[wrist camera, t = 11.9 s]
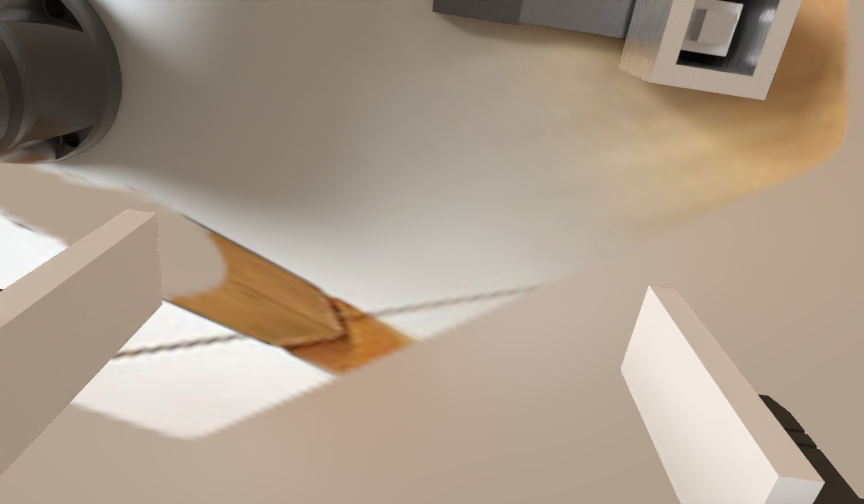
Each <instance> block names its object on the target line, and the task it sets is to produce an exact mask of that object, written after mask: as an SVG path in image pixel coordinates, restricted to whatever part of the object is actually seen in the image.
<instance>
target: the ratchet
mask: <svg viewBox="0 0 864 504" xmlns="http://www.w3.org/2000/svg"><path fill="white" fill-rule="evenodd" d="M635 4H636V0H434V3H433V12H439V13H445V14H452V15H458V16H464V17H470V18H477V19H483V20H489V21H496V22H502V23H508V24H515V25H518V22H522V23H529V24H535V25H541V26H548V27H554V28H560V29H566V30H573V31H579V32H585V33H592V34H598V35H604V36H611V37H617V38H623V39H624V40H625V41H626V37H627V34H628V30H629V26H630V22H631V19H632V15H633V11H634V7H635ZM742 7H743V4H737V3H731V2H725V0H695V3H694V7H693V10H692V13H691V16H690V20H689V23H688V26H687V30H686V33H685V36H684V39H683V43H682V46H681V49H680V52H679V56H678V59H677V60H684V61H690V62H697V63H703V64H704V63H705V60H706V57H707V54H712V55H718V56H724V57H726V54H727V51H728V48H729V45H730V42H731V39H732V36H733V33H734V31H735V28H736V25H737V22H738V19H739V16H740V13H741V10H742Z"/></svg>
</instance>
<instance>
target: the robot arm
mask: <svg viewBox="0 0 864 504" xmlns="http://www.w3.org/2000/svg"><path fill="white" fill-rule="evenodd" d="M120 96H121V75H120V68H119V62H118V58H117V55H116V52H115V49H114V46H113V43H112V41H111V38H110V36H109V34H108V32H107V30H106V28H105V26H104V25H103V23H102V21H101V20H100V18H99V17H98V15H97V14H96V12H95V11H94V10H93V8H92V7H91V6H90V5H89V3H88V2H87V1H86V0H0V163H12V164H46V163H51V162H56V161H60V160H63V159H66V158H68V157H71V156H73V155H75V154H78V153H80V152H82V151H84V150H87V149H88V148H90V147H91V146H93V145H94V144H96V143H97V142H98V141H99V140H100V139H101V138H102V137H103V136H104V135H105V134H106V132H107V131H108V130H109V128H110V126H111V125H112V123H113V121H114V119H115V116H116V114H117V111H118V107H119V103H120ZM161 305H162V291H161V275H160V258H159V241H158V224H157V213H151V212H144V211H138V210H131V209H127V210H125V211H124V212H122V213H120V214H119V215H117V216H116V217H114V218H113V219H111V220H110V221H108V222H107V223H105V224H104V225H102V226H101V227H99V228H98V229H96V230H94V231H93V232H91V233H90V234H88V235H87V236H85V237H84V238H82V239H81V240H79V241H78V242H76V243H74V244H73V245H71V246H70V247H68V248H67V249H65V250H64V251H62V252H61V253H59V254H58V255H56V256H55V257H53V258H51V259H50V260H48V261H47V262H45V263H44V264H42V265H41V266H39V267H38V268H36V269H35V270H33V271H32V272H30V273H29V274H27V275H25V276H24V277H22V278H21V279H19V280H18V281H16V282H15V283H13V284H12V285H10V286H9V287H7V288H6V289H0V476H1V475H2V474H3V473H4V471H6V469H7V468H8V467H9V466H10V465H11V464H12V463H13V462H14V461H15V460H16V459H17V458H18V457H19V456H20V455H21V454H22V453H23V451H24V450H25V449H26V448H27V447H28V446H29V445H30V444H31V443H32V442H33V441H34V440H35V439H36V438H37V437H38V436H39V435H40V434H41V432H42V431H43V430H44V429H45V428H46V427H47V426H48V425H49V424H50V423H51V422H52V421H53V420H54V419H55V418H56V417H57V415H58V414H59V413H60V412H61V411H62V410H63V409H64V408H65V407H66V406H67V405H68V404H69V403H70V402H71V401H72V400H73V399H74V397H75V396H76V395H77V394H78V393H79V392H80V391H81V390H82V389H83V388H84V387H85V386H86V385H87V384H88V383H89V382H90V381H91V379H92V378H93V377H94V376H95V375H96V374H97V373H98V372H99V371H100V370H101V369H102V368H103V367H104V366H105V365H106V364H107V363H108V361H109V360H110V359H111V358H112V357H113V356H114V355H115V354H116V353H117V352H118V351H119V350H120V349H121V348H122V347H123V346H124V345H125V343H126V342H127V341H128V340H129V339H130V338H131V337H132V336H133V335H134V334H135V333H136V332H137V331H138V330H139V329H140V328H141V327H142V325H143V324H144V323H145V322H146V321H147V320H148V319H149V318H150V317H151V316H152V315H153V314H154V313H155V312H156V311H157V310H158V308H159V307H160V306H161ZM620 370H621V372H622V374H623V377H624V379H625V380H626V383H627V385H628V387H629V390H630V392H631V394H632V396H633V399H634V401H635V403H636V405H637V408H638V410H639V412H640V414H641V417H642V419H643V421H644V423H645V426H646V428H647V430H648V432H649V434H650V437H651V439H652V441H653V443H654V445H655V448H656V450H657V452H658V454H659V457H660V459H661V461H662V463H663V465H664V468H665V470H666V472H667V475H668V477H669V479H670V481H671V483H672V486H673V488H674V490H675V492H676V494H677V497H678V499H679V501H680V503H681V504H864V499H861V498H859V497H858V496H857V495H856V494H855V492H854V491H853V490H852V489H851V487H850V486H849V485H848V484H847V482H846V481H845V480H844V479H843V477H842V476H841V475H840V474H839V473H838V471H837V470H836V469H835V468H834V466H833V465H832V464H831V463H830V461H829V460H828V459H827V458H826V456H825V455H824V454H823V453H822V452H821V451H820V450H819V449H817V448H816V447H817V446H816V444H815V443H814V442H813V441H812V439H811V438H810V437H809V435H807V434H805V433H804V429H803V428H802V427H801V426H800V424H799V423H798V422H797V421H796V420H795V418H794V417H793V416H792V415H791V413H790V412H788V411H787V410H786V409H785V408H783V407H782V406H780V405H779V404H778V403H777V402H775V401H774V400H773V399H772V398H770V397H769V396H766V395H758V394H757V393H756V392H755V391H754V389H753V388H752V387H751V385H750V384H749V383H748V381H747V380H746V379H745V378H744V376H743V375H742V374H741V372H740V371H739V370H738V368H737V367H736V366H735V364H734V363H733V362H732V361H731V359H730V358H729V357H728V355H727V354H726V353H725V351H724V350H723V349H722V348H721V346H720V345H719V343H718V342H717V341H716V340H715V338H714V337H713V336H712V335H711V333H710V332H709V330H708V329H707V328H706V327H705V325H704V324H703V323H702V321H701V320H700V319H699V317H698V316H697V315H696V313H695V312H694V311H693V310H692V308H691V307H690V306H689V304H688V303H687V302H686V300H685V299H684V298H683V296H682V295H681V294H680V293H679V291H678V290H677V289H671V288H664V287H658V286H651V285H649V287H648V290H647V293H646V296H645V299H644V302H643V304H642V308H641V310H640V313H639V316H638V319H637V322H636V325H635V328H634V331H633V334H632V336H631V339H630V342H629V345H628V348H627V351H626V354H625V357H624V360H623V363H622V366H621V369H620Z"/></svg>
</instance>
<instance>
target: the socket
mask: <svg viewBox="0 0 864 504" xmlns="http://www.w3.org/2000/svg"><path fill="white" fill-rule="evenodd" d="M725 2H731V3H737V4H743V7H742V10H741V13H740V16H739V19H738V22H737V25H736V28H735V31H734V33H733V36H732V39H731V42H730V45H729V48H728V51H727V54H726V57H724V56H718V55H712V54H707V57H706V60H705V63H704V64H703V63H697V62H690V61H684V60H677V59H678V56H679V52H680V49H681V46H682V43H683V39H684V36H685V33H686V30H687V26H688V23H689V20H690V16H691V13H692V10H693V7H694V3H695V0H636V4H635V7H634V11H633V15H632V19H631V22H630V26H629V30H628V34H627V37H626V41H625V45H624V48H623V52H622V56H621V60H620V63H619V67H618V69H620V70H622V71H624V72H626V73H629V74H631V75H633V76H636V77H638V78H640V79H643V80H645V81H647V82H649V83H656V84H662V85H669V86H675V87H682V88H688V89H694V90H701V91H707V92H714V93H720V94H727V95H733V96H740V97H746V98H753V99H759V100H765V98H766V95H767V93H768V90H769V88H770V85H771V82H772V80H773V77H774V74H775V72H776V69H777V66H778V64H779V61H780V58H781V56H782V53H783V50H784V48H785V45H786V43H787V40H788V37H789V35H790V32H791V29H792V27H793V24H794V21H795V19H796V16H797V13H798V11H799V8H800V6H801V3H802V0H725Z"/></svg>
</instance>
